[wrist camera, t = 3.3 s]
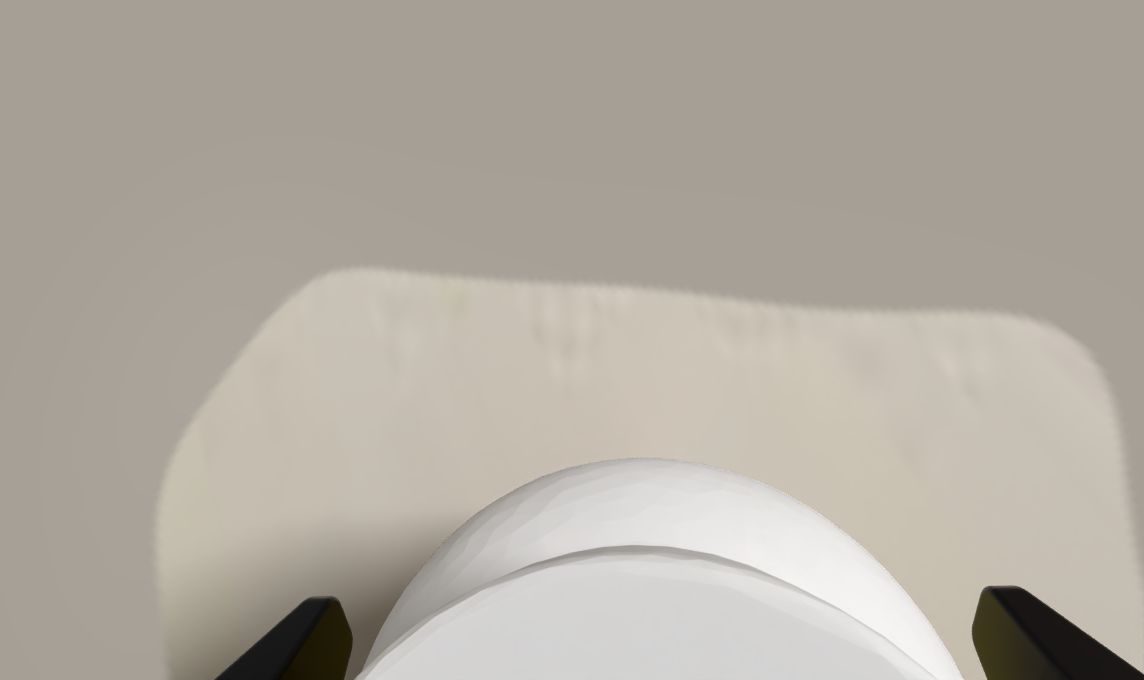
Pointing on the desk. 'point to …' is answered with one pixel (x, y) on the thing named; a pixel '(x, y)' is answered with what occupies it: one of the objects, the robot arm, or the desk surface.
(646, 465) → the supplement bottle
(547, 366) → the desk surface
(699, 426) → the desk surface
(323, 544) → the desk surface
